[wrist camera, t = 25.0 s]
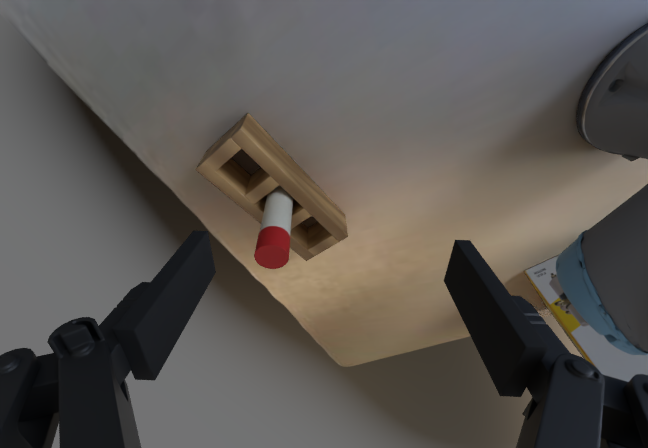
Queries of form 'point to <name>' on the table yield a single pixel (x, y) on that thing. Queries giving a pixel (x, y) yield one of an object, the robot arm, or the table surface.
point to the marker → (275, 230)
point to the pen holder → (273, 186)
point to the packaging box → (583, 327)
